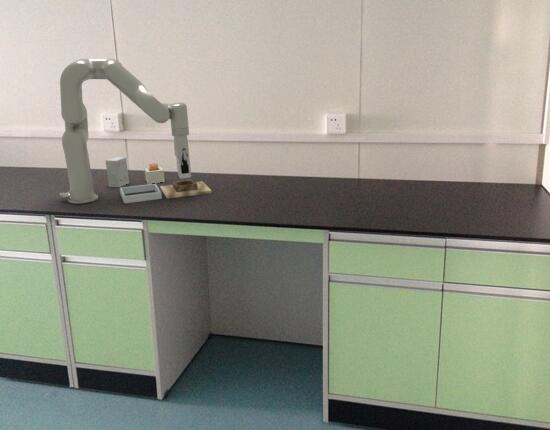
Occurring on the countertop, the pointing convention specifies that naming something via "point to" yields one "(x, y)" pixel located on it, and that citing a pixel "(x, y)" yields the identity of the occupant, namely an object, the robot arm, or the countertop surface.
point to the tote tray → (140, 196)
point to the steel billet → (180, 168)
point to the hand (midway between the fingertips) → (184, 171)
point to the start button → (153, 167)
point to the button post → (154, 175)
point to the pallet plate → (185, 189)
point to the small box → (117, 171)
